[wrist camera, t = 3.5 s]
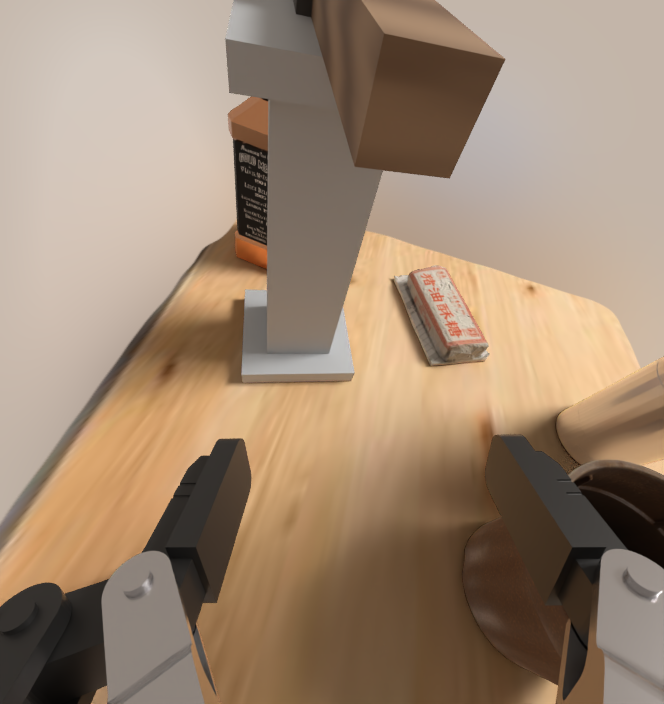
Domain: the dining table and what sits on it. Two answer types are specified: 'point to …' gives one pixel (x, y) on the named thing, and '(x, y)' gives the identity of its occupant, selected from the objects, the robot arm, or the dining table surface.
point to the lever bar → (403, 80)
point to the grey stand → (299, 199)
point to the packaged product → (441, 317)
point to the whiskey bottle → (251, 178)
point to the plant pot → (516, 583)
